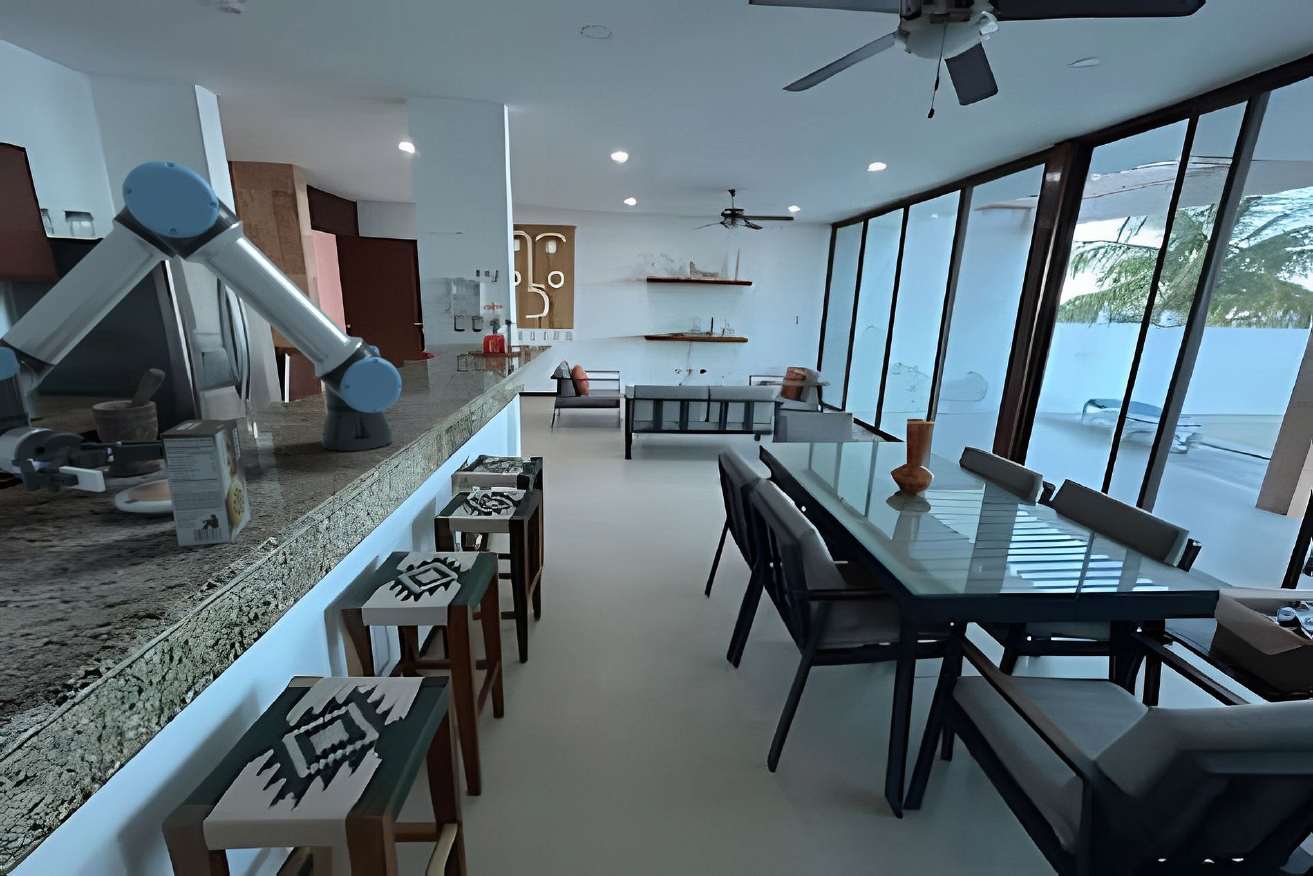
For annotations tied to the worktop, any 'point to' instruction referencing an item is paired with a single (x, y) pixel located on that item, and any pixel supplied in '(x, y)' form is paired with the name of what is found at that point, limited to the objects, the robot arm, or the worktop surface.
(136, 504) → the turntable platter
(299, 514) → the worktop surface
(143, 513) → the turntable base
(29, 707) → the worktop surface
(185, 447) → the coffee box
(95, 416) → the mortar and pestle
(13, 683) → the worktop surface
